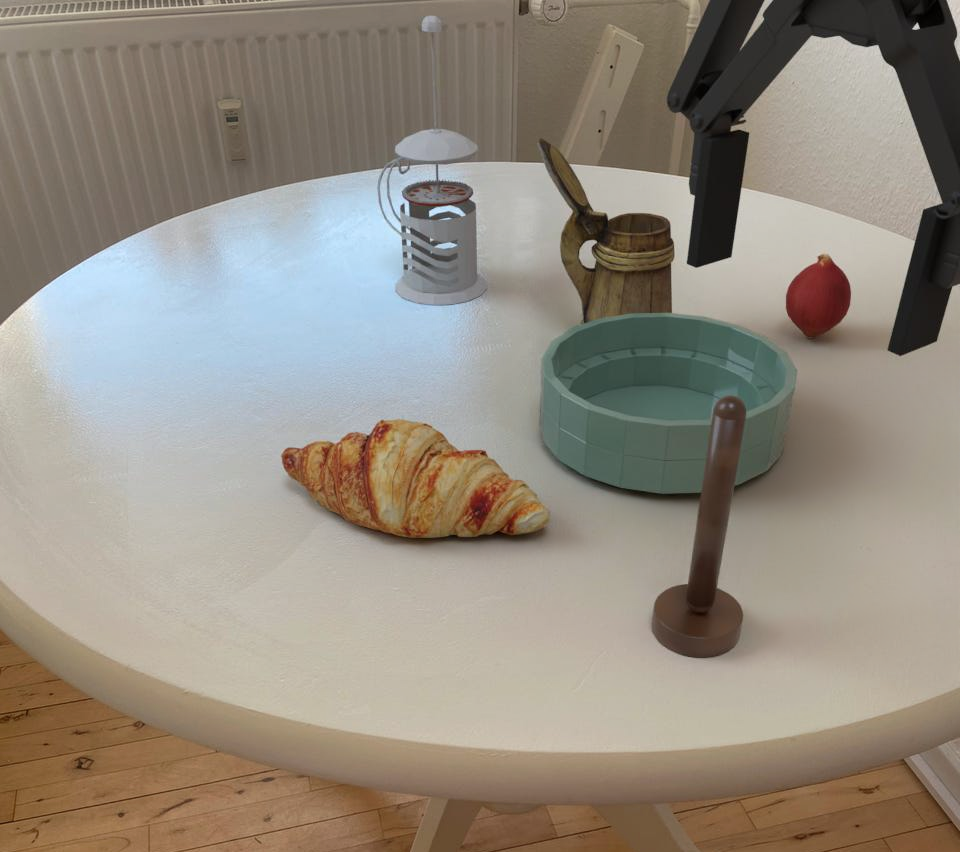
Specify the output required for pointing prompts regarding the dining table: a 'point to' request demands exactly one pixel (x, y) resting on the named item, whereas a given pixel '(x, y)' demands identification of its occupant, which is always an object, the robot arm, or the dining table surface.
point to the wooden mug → (612, 251)
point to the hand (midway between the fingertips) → (802, 300)
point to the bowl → (661, 398)
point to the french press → (436, 216)
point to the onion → (818, 297)
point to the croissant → (414, 484)
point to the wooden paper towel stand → (707, 552)
